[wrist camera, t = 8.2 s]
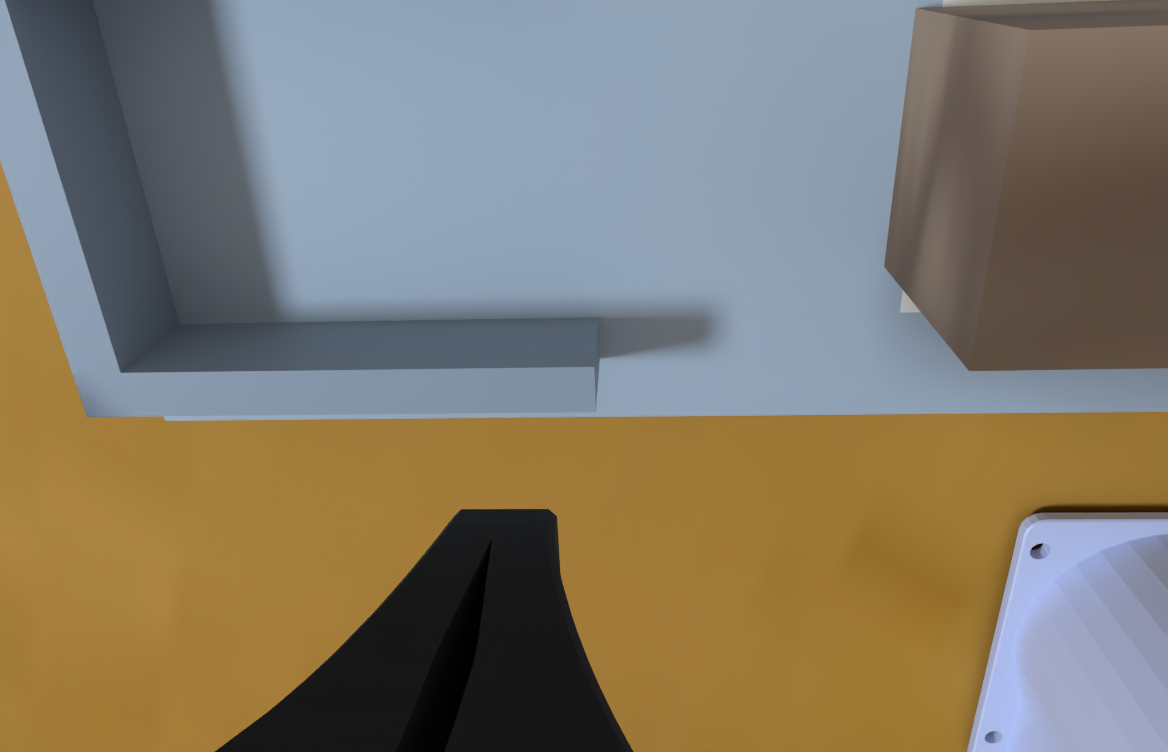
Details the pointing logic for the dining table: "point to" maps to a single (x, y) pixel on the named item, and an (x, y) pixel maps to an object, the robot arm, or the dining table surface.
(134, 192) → the deck
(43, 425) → the dining table surface
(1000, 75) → the walnut block
